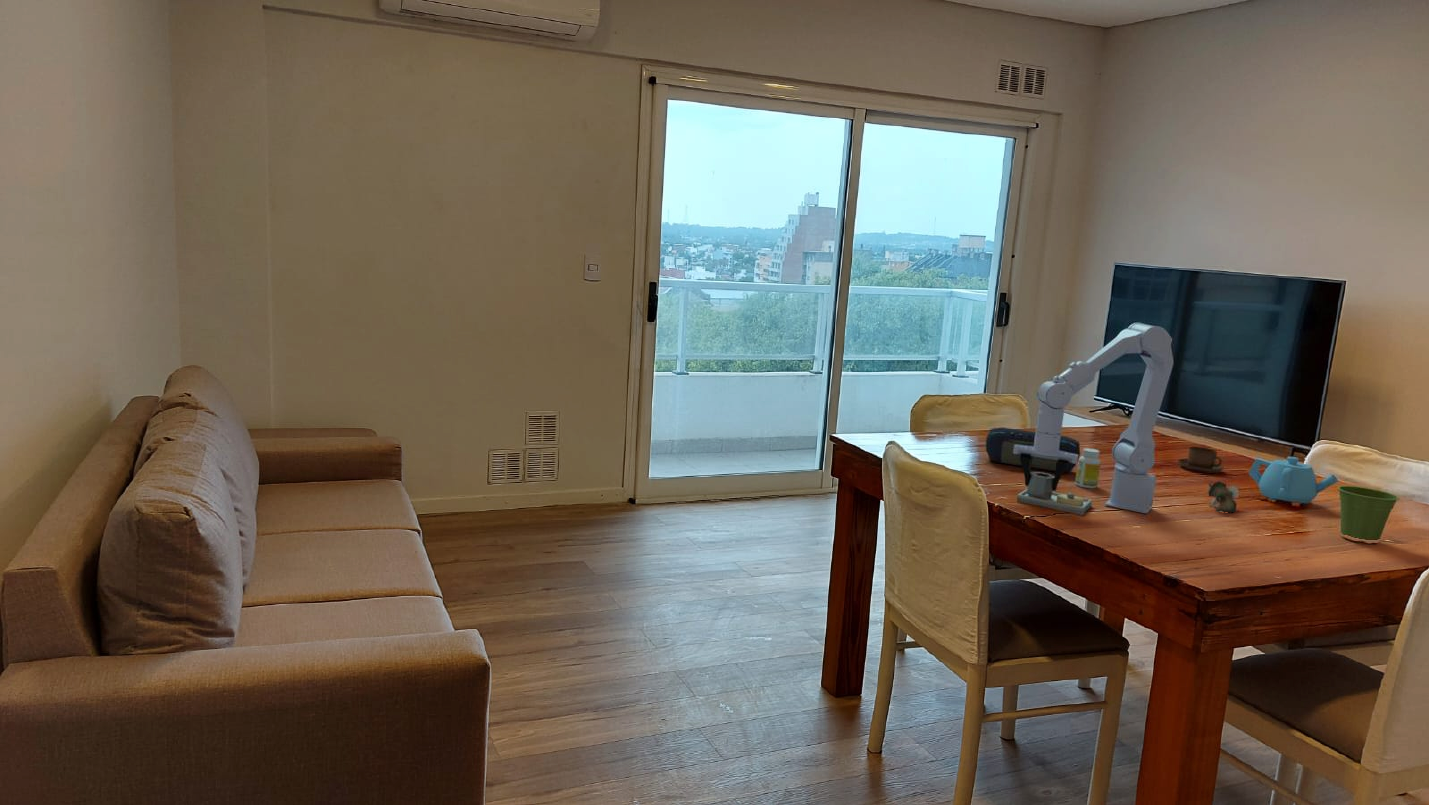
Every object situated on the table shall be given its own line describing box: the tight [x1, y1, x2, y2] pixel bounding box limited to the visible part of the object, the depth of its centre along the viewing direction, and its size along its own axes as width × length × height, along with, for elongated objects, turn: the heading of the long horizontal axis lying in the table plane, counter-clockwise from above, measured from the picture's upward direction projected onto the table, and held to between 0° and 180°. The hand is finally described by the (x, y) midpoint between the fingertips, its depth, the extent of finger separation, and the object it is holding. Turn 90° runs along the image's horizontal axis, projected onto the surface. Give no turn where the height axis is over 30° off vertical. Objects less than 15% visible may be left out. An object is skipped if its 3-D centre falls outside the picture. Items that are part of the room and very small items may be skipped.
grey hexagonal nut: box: [1026, 471, 1055, 499], centre depth 233 cm, size 6×6×5 cm
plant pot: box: [1336, 485, 1401, 540], centre depth 221 cm, size 12×12×11 cm
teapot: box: [1247, 456, 1339, 504], centre depth 252 cm, size 20×17×12 cm
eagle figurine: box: [1207, 480, 1239, 513], centre depth 240 cm, size 8×8×10 cm
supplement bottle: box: [1074, 447, 1102, 489], centre depth 252 cm, size 5×5×10 cm
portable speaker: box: [985, 426, 1081, 473], centre depth 270 cm, size 25×10×10 cm, turn 67°
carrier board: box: [1016, 488, 1093, 516], centre depth 232 cm, size 15×10×3 cm, turn 58°
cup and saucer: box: [1177, 446, 1224, 474], centre depth 284 cm, size 12×12×6 cm
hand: (1040, 487), depth 233 cm, fingers closed on grey hexagonal nut, 6 cm apart
